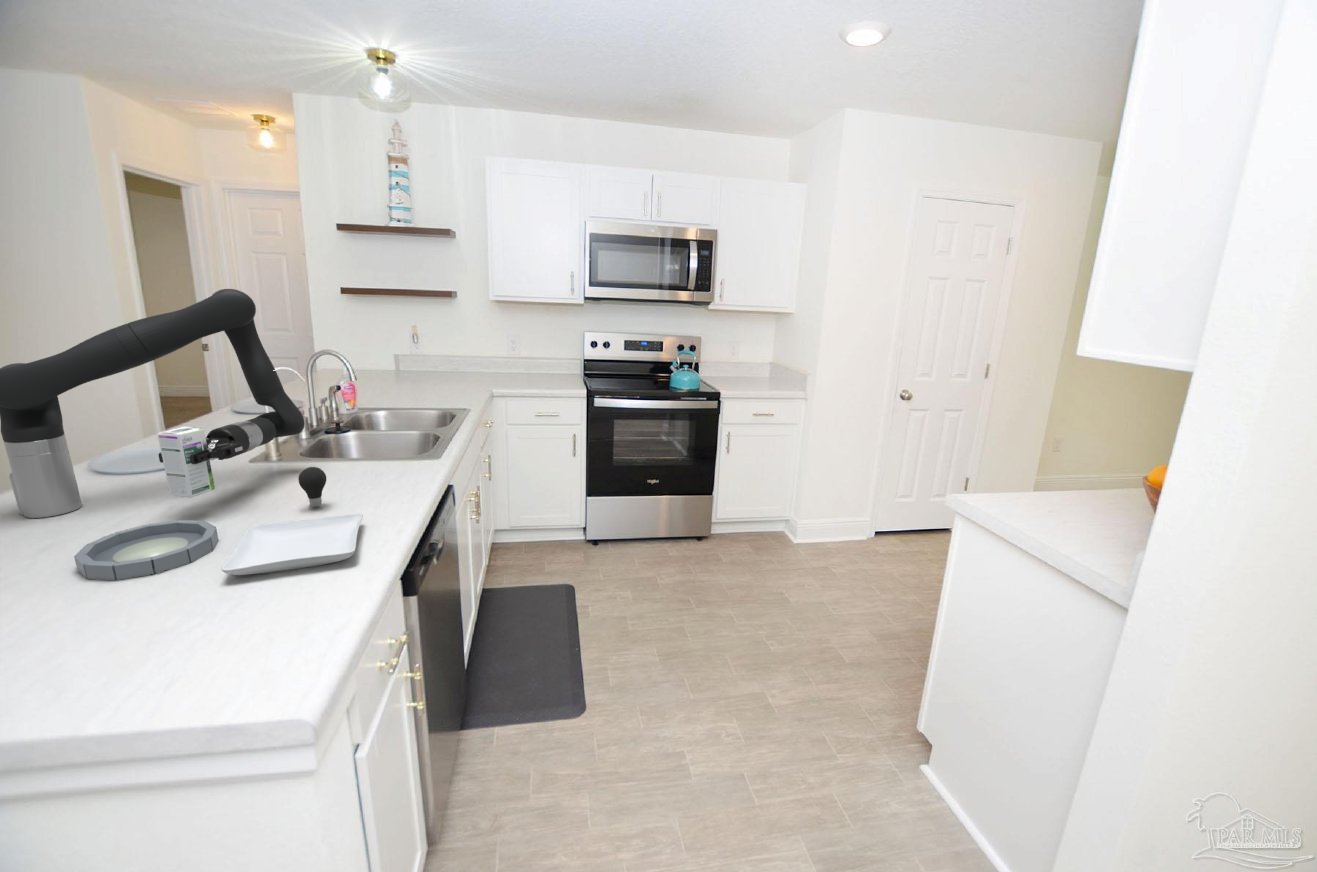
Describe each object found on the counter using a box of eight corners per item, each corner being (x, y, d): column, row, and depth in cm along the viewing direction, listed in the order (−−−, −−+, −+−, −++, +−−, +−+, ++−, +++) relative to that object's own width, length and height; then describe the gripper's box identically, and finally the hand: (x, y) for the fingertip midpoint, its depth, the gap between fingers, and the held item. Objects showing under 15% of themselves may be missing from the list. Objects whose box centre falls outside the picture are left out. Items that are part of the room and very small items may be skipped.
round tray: (47, 577, 101) (43, 562, 101) (149, 530, 121) (146, 518, 120) (156, 582, 101) (152, 567, 100) (241, 534, 120) (239, 522, 119)
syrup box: (191, 498, 123) (179, 433, 120) (168, 495, 124) (156, 431, 121) (215, 489, 129) (205, 427, 125) (194, 487, 130) (183, 425, 126)
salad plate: (251, 539, 119) (248, 523, 118) (364, 525, 127) (363, 510, 126) (221, 587, 100) (218, 570, 99) (357, 567, 108) (355, 551, 107)
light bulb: (301, 513, 132) (295, 472, 129) (303, 505, 136) (297, 465, 134) (329, 509, 134) (324, 469, 132) (330, 501, 139) (325, 462, 136)
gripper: (204, 422, 138) (140, 440, 121) (262, 425, 137) (206, 444, 121) (209, 452, 139) (147, 474, 123) (266, 455, 139) (211, 477, 123)
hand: (176, 459), depth 122 cm, fingers closed on syrup box, 6 cm apart
